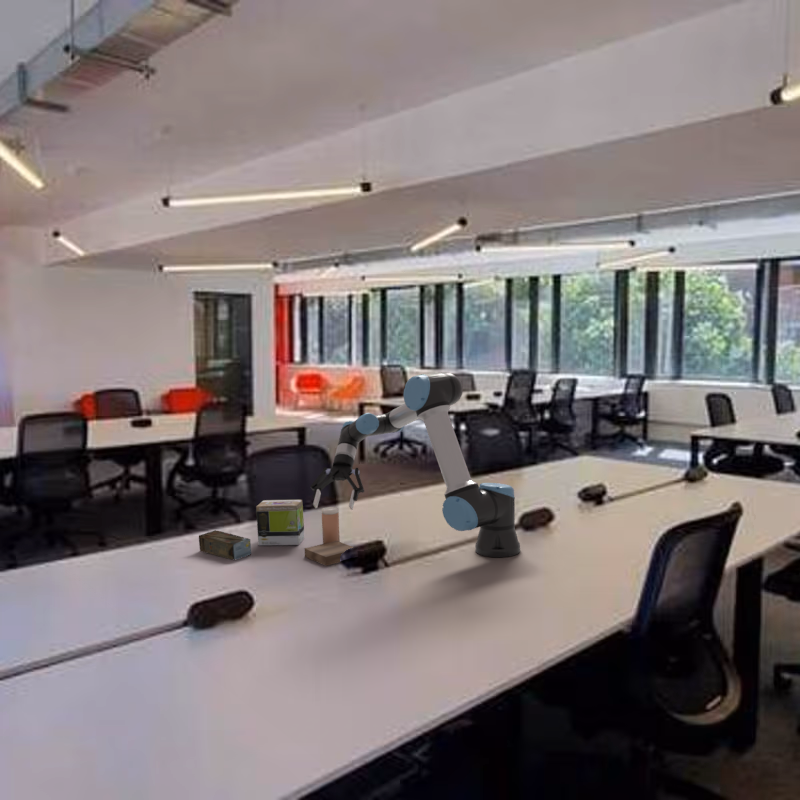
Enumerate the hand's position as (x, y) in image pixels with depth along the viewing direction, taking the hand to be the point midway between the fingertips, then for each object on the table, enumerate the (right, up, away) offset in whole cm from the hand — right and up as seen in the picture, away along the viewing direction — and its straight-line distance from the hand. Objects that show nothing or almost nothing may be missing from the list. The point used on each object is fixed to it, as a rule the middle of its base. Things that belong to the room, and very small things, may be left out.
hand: (332, 507), depth 281 cm
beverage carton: (-37, -15, -10) cm, 41 cm away
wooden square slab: (+1, -14, -18) cm, 23 cm away
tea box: (-19, -13, +2) cm, 23 cm away
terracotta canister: (0, -13, -4) cm, 13 cm away
